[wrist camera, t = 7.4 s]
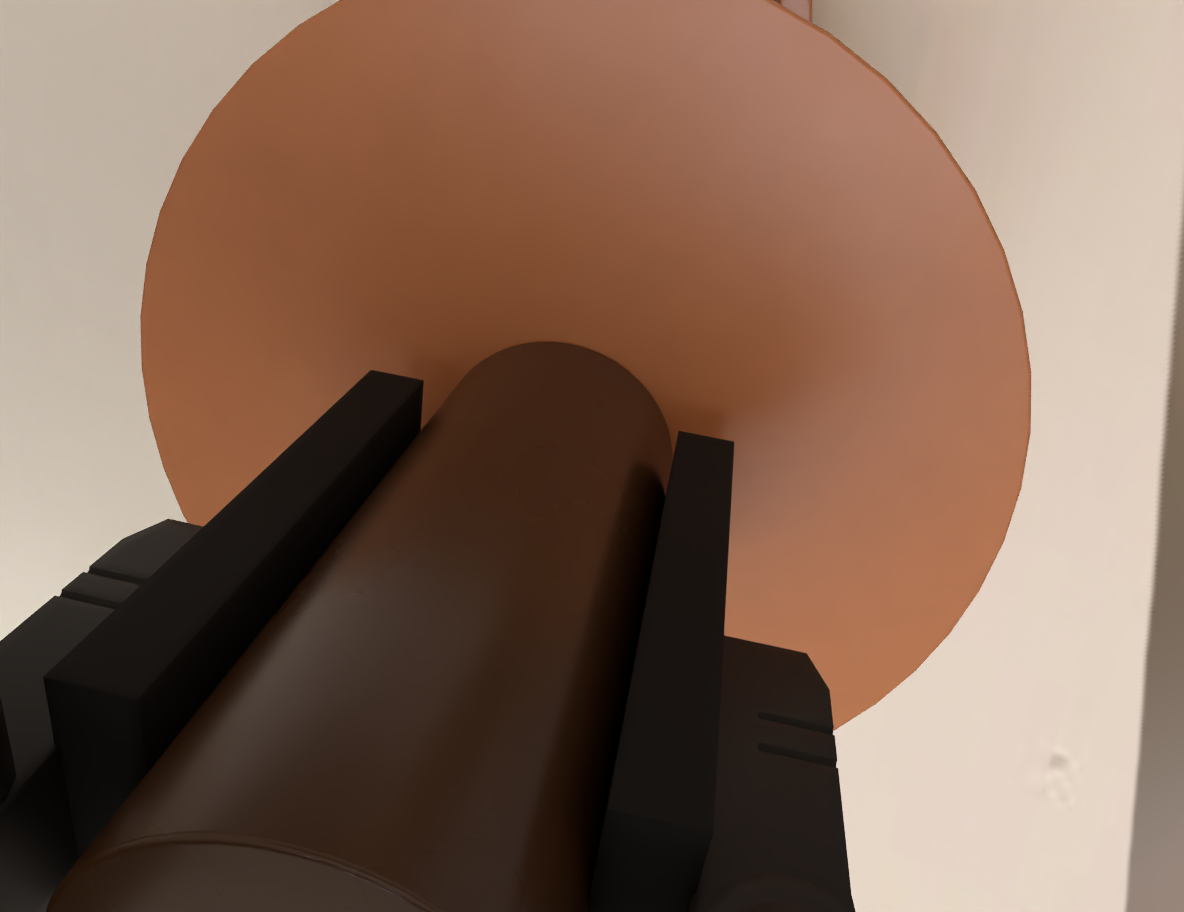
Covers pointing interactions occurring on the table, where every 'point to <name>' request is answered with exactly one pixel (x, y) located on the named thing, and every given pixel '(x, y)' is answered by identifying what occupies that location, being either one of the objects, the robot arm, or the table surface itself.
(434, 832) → the lid
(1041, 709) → the table surface
